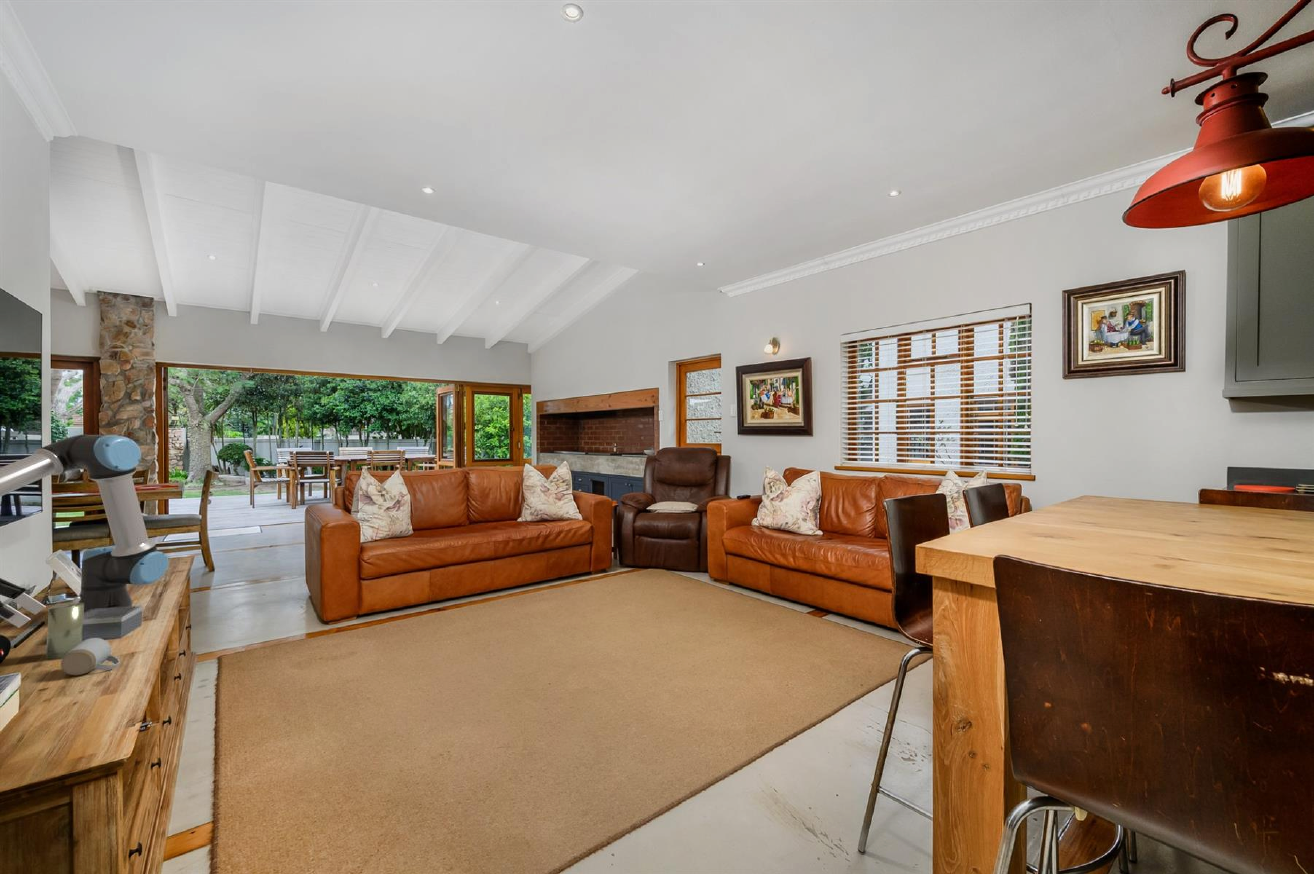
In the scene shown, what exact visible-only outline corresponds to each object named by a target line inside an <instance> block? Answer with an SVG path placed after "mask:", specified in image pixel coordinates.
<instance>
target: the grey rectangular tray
mask: <svg viewBox="0 0 1314 874" xmlns="http://www.w3.org/2000/svg"><path fill="white" fill-rule="evenodd" d="M142 620H143V605H137V606H136V605H135V606H133V605H132V606H131V607H113V608H96V609H91V610H89V611H87V612H85V613H84V619H83V637H82V641H84V640H86V639H90V638H100V639H103V640H112V639H122V638H123V637H125V636H127V635H128V634H130V633H132V632H134V631H135V630H137V629H138V628H139V627H141V626H142V622H143V621H142ZM131 631H132V632H131Z"/></svg>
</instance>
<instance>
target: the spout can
mask: <svg viewBox="0 0 1314 874" xmlns="http://www.w3.org/2000/svg"><path fill="white" fill-rule="evenodd" d="M80 600H81V597H79V595H78V596H75V597H74V598H73V599H72V600H71V602H66V603H60V604H56V605H55V604H54V605H52V606H49V607H48V611H47V612H48V617H47V633H46V652H45V659H46V660H51V661H53V660H62V659H63V658H64V656H65V655H66V654H67V653H68V652H69V651H70V650H72V649H73V648H74V647H76V646H77V645H78V644H79V643H81V642H82V637H83V619H84V603H81V602H79V601H80Z"/></svg>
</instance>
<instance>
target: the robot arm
mask: <svg viewBox="0 0 1314 874" xmlns="http://www.w3.org/2000/svg"><path fill="white" fill-rule="evenodd" d="M141 459H142V451H141V448H140V446H139V445H138V444H137V443H136V442H135V441H134V440H133V439H131V438H129V437H126V436H121V435H116V434H77V435H73V436H69V437H66V438H64V439H60V440H58V441H55V442H52V443H50V444H48V445H45V446H43V447H40V448H37V449H36V450H34V451H33V454H32V455H29V456H26V457H25V458H22V459H20V460H17V461H14V462H11V463H10V464H7V465H4V466H1V467H0V497H3V496H5V495H7V494H9V493H12V492H13V491H16V490H18V489H21V488H23V487H25V486H28V485H30V484H33V483H35V482H36V481H40V480H41V479H44V478H46V477H48V476H50V475H52V476H58V475H61V474H63V473H66V472H70V471H75V470H86V472H87V475H88V478H89V480H91V481H93V482H96V483H97V488H98V490H99V494H100V496H101V497H100V498H101V500H102V503H103V508H104V511H105V515H106V519H107V521H108V525H109V529H110V533H111V537H112V540H113V542H114V545H110V546H109V545H107V546H102V547H94V548H89V549H86V550H85V551H84V552H83V553H82V558H81V579H80V593H79V595H78V596H79V597H81V600H80V601H79V602H81V603H84V613H85V612H87V611H89V610H91V609H96V608H113V607H131V606H133V600H132V598H131V595H130V592H129V591H128V590H129V589H128V588H127V585H134V586H147V585H152V584H154V583H156V582H158V581H159V580H161V578H163V576H164V575H165V573H166V572H167V571H168V569H169V564H170V563H169V557H168V555H167V554H166V553H165V552H162V551H159V550H158V547H157V544H156V542H155V541H154V540H152V539H149V536H148V533H147V528H146V525H145V524H146V523H145V521H144V517H143V513H142V509H141V506H140V502H139V498H138V495H137V491H136V488H135V487H136V486H135V483H134V479H133V475H134V474H135V473H137V466H138V465H139V464H140V461H141ZM26 591H27V589H26V588H25V587H22V586H19V585H16V583H15V584H14V583H12V582H10V581H8V580H6V579H4V578H1V577H0V596H3V597H6V598H8V599H12V601H13V602H14V603H15V604H17V605H18V606H20V607H22V608H23V609H25V610H26V611H28V612H29V613H32V614H34V615H35V616H36V615H38V614H39V613H40V612H41V611H43V610H44V609H45V608H46V607H47V606H46V605H44V604H43V603H41V602H40V601H39V600H36V599H35V598H33V597H32V596H30V595H29V594H27V593H25V592H26ZM0 618H1V619H3V620H5V621H7V622H9V624H11V625H13V626H15V627H17V628H18V629H20V628H21V627H23V626H24V625H26V623H28V622H29V621H31V618H30V617H28V616H27V615H25V614H23V613H22V612H20V611H19V610H17V609H16V608H14V607H13V606H11V605H9V604H7V603H6V604H4V603H3V602H2V601H1V600H0Z"/></svg>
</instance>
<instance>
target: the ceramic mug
mask: <svg viewBox="0 0 1314 874" xmlns="http://www.w3.org/2000/svg"><path fill="white" fill-rule="evenodd" d="M106 661H108V662H111V663H113V664H104V663H105V662H106ZM120 663H121V661H120V659H119V657H118V656H115V655H112V647H111V644H110V643H109V642H108V641H107V640H106V639H100V638H90V639H86V640H84V641H82V642H81V643H79V644H78V645H77V646H76V647H74V648H73V649H72V650H70V651H69V652H68V653H67V654H66V655H65V656H64V658H63V659H61V662H60V666H61V670H62V671H63V672H64V673H65V674H68V675H70V676H82V675H85V674H88V673H90V672H91V671H93V670H94V669H95V670H99V671H112V670H111V669H113V668H115V669H116V668H118V666H119V664H120ZM113 670H114V669H113Z"/></svg>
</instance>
